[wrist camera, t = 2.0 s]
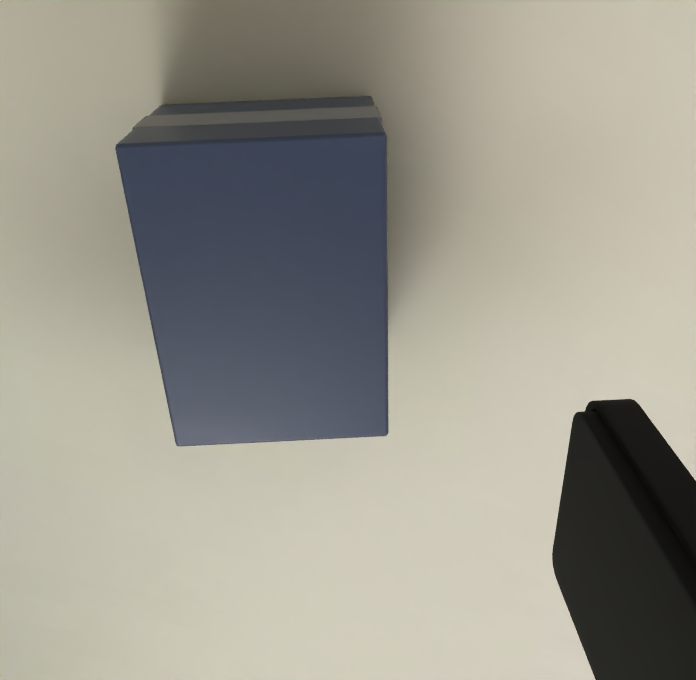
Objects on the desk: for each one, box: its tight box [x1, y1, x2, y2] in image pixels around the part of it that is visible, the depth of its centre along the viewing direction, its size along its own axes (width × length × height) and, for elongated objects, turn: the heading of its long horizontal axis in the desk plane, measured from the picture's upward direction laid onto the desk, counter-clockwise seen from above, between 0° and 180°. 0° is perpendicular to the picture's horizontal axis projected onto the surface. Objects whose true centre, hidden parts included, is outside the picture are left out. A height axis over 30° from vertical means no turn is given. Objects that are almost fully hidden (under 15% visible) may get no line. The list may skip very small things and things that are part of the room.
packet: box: [115, 96, 388, 446], centre depth 16 cm, size 7×5×4 cm
